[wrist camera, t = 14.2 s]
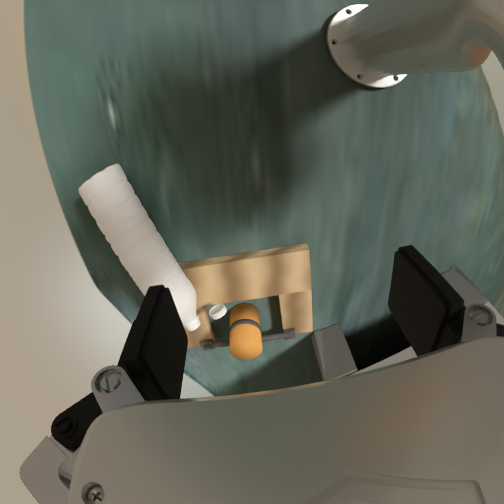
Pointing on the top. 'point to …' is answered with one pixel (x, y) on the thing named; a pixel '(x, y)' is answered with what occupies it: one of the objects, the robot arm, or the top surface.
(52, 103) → the top surface
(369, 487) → the robot arm
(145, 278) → the water bottle
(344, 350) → the transformer
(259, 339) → the banded orange cylinder
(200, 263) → the oak frame
